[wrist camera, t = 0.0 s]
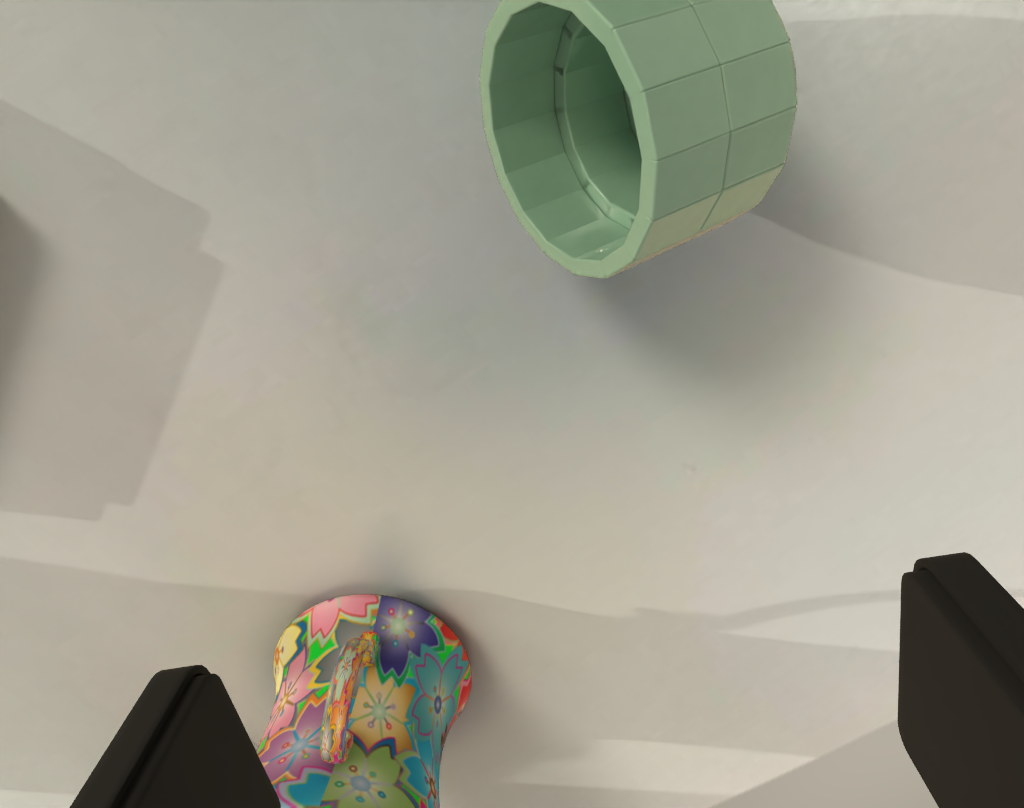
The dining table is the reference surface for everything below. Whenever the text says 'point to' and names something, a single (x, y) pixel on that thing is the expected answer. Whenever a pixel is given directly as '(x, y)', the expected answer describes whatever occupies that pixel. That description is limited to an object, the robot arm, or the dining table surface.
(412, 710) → the mug
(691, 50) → the bowl
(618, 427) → the dining table surface
